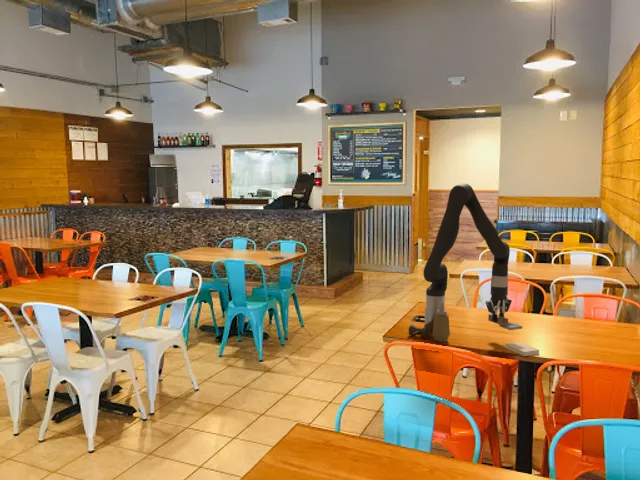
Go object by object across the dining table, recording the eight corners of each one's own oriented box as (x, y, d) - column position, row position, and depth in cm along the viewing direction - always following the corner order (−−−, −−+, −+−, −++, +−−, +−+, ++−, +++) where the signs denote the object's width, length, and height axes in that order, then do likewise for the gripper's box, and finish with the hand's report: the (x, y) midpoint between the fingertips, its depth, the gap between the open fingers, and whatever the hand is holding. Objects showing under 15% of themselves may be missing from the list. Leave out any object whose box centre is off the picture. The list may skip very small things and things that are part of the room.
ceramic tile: (505, 343, 242) (524, 351, 231) (519, 341, 245) (539, 349, 234) (505, 348, 242) (524, 357, 231) (519, 346, 245) (538, 354, 234)
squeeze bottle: (428, 339, 255) (429, 301, 252) (443, 337, 257) (444, 300, 255) (438, 344, 247) (439, 305, 245) (453, 342, 250) (454, 304, 248)
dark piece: (484, 320, 255) (485, 314, 255) (496, 319, 258) (497, 313, 258) (509, 330, 240) (510, 323, 239) (522, 328, 242) (522, 322, 242)
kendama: (441, 333, 266) (422, 342, 250) (423, 330, 272) (403, 338, 256) (441, 321, 265) (422, 329, 250) (424, 318, 271) (404, 326, 256)
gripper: (506, 282, 256) (504, 317, 258) (481, 284, 251) (480, 320, 253) (517, 285, 249) (515, 321, 251) (492, 287, 244) (491, 324, 246)
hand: (497, 321), depth 252 cm, fingers closed on dark piece, 3 cm apart
